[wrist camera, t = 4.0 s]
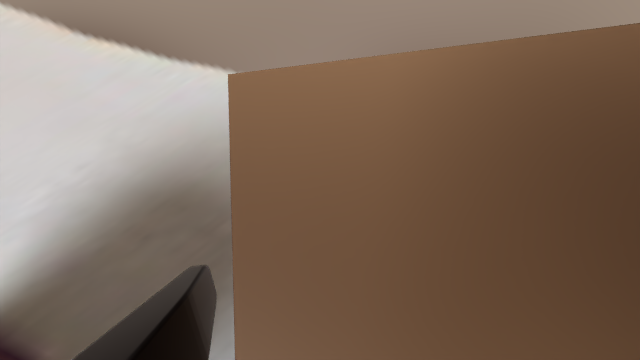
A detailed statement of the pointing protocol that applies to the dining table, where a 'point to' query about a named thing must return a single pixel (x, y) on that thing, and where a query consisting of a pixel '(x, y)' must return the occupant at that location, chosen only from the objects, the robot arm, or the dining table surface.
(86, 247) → the dining table surface
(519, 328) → the walnut post
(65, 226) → the dining table surface
